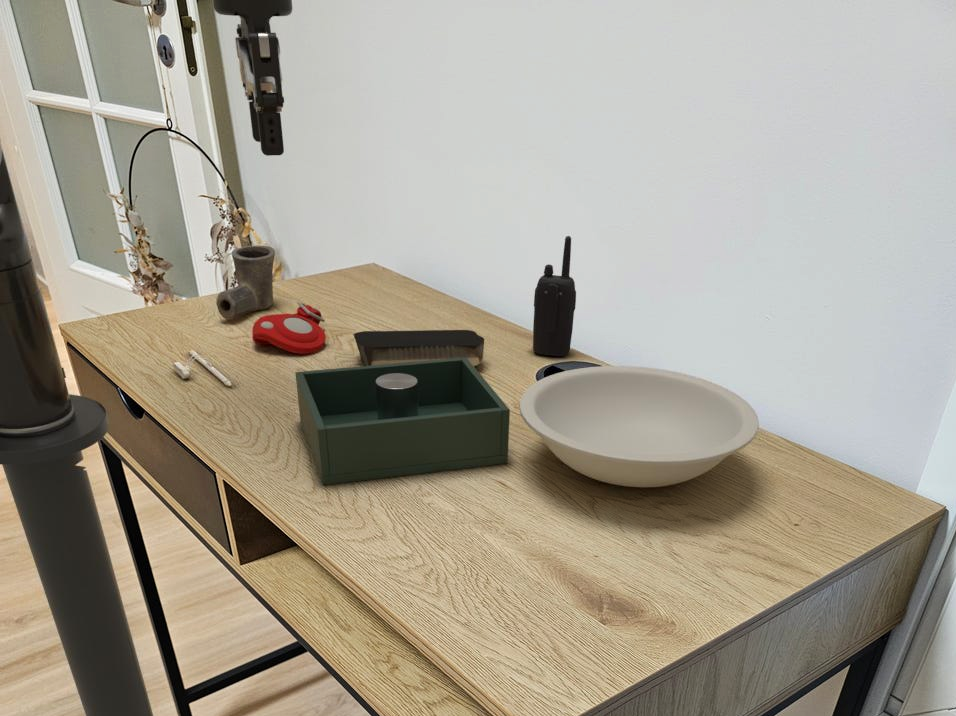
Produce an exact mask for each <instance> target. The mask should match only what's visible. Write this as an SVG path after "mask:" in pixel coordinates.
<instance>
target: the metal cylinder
mask: <svg viewBox="0 0 956 716" xmlns="http://www.w3.org/2000/svg"><path fill="white" fill-rule="evenodd" d="M376 399H377V419H378V420H384V419H394V418H404V417H413V416H418V381H417V379H416V378H415V377H414V376H411V375H408V374H402V373H392V374H386V375H382V376H380V377H378V378H377V379H376Z"/></svg>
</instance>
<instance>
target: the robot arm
mask: <svg viewBox="0 0 956 716" xmlns="http://www.w3.org/2000/svg"><path fill="white" fill-rule="evenodd" d="M212 6H213V9H214V11H215V12H216V13H217V14H219V15H222V16H230V17H231V16H234V17H237V16H238V17H239V18H240V23H237V24H236V25H237V26H236V27H237V28H235V29H236V34H237V35H238V36H235V37H234V41H235V51H236V54H237V55H236V57H237V59H238V63H239V64H238V65H239V74H240V78H241V82H242V87H243V88H244V96H245V97H246V100H247V101H248V108H249V115H250V116H249V117H250V123H251V133H252V138H253V139H254V141H255V142H257V143H260V151H261V152H262V154H263V155H264V156H267V157H268V156H270V157H271V156H282V155H283V154H284V153H285V148H284V139H283V137H284V136H283V128H282V118H281V117H282V116H281V113H282V111H283V110H282V108H283V107H284V103H285V98H284V96H283V75H282V69H281V62H280V61H281V47H280V46H281V45H280V42H279V38H278V36H277V33H276V32H272V30H271V29H272V28H271V24H270V20H271V19H272V18H274V17H287V16H290V15H291V14H292V13H293V0H212ZM15 195H16V194H15V192H14V187H13V184H12V180H11V176H10V173H9V169H8V166H7V161H6V157H5V154H4V149H3V146H2V141H1V139H0V436H1V437H8V438H24V437H33V436H39V435H44V434H48V433H51V432H54V431H57V430H59V429H62V428H64V427H66V426H67V425H69V424H70V423H71V422H72V421H73V420H74V418H75V412H74V408H73V405H72V403H71V399H70V396H69V394H70V393H69V390H68V386H67V382H66V378H67V376H66V372H65V369H64V367H62V364H61V360H60V356H59V352H58V349H57V346H56V342H55V337H54V334H53V330H52V327H51V323H50V319H49V315H48V312H47V307H46V304H45V300H44V297H43V292H42V289H41V286H40V282H39V278H38V274H37V270H36V267H35V264H34V260H33V256H32V252H31V249H30V245H29V240H28V236H27V233H26V230H25V226H24V223H23V218H22V215H21V212H20V208H19V206H18V201H17V199H16V196H15Z"/></svg>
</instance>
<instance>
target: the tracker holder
mask: <svg viewBox="0 0 956 716" xmlns="http://www.w3.org/2000/svg"><path fill="white" fill-rule="evenodd" d="M296 304H297V306H298V308H297V309H296V311H297V312H295V313H275V314H268V315H263V316H260V317H259V318H258V319H257V320H256V321H255V322H254V323H253V325H252V329H251V331H252V333H251V334H252V335H251V337H252V338H251V339H252V341H253V342H254V343H255V344H256V345H259V346H266V345H270V344H271V345H274V346H275V347H278V348H280V349H283V350H285V351H288V352H290V353H294V354H300V355H309V354H314V353H317V352H319V351H321V350H322V349H323V348H324V347H325V342H326V339H327V337H326V333H325V331H324V329H323V328H322V327H321V326H320V324H321V322H322V323H325V321H326V320H325V318H324V317H323V316H322V313H321V311H320V310H319V309H318V308H316V307H314V306H312V305H310V304H305V303H303V302H301V301H300V300H298V301H296Z"/></svg>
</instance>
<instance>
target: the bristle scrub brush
mask: <svg viewBox="0 0 956 716" xmlns="http://www.w3.org/2000/svg"><path fill="white" fill-rule="evenodd" d="M353 338H354V339H355V343H356V347H357V350H358V352H359V356H360V360H361V363H362V364H363V366H371V365H383V364H395V363H406V362H418V361H429V360H441V359H452V358H464V357H466V358H467V359H468V360H469V361H470V362H471V364H472V365H473V366H474V367H475V366H476V367H477V366H478V365H480V364H481V363H482V361H483V359H484V351H485V338H484V337H483V336H481V335H479V334H477V332H476V331H475V330H470V329H442V330H441V329H434V330H433V329H432V330H431V329H429V330H428V329H427V330H425V329H424V330H364V331H358V332H355V333H353Z"/></svg>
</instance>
